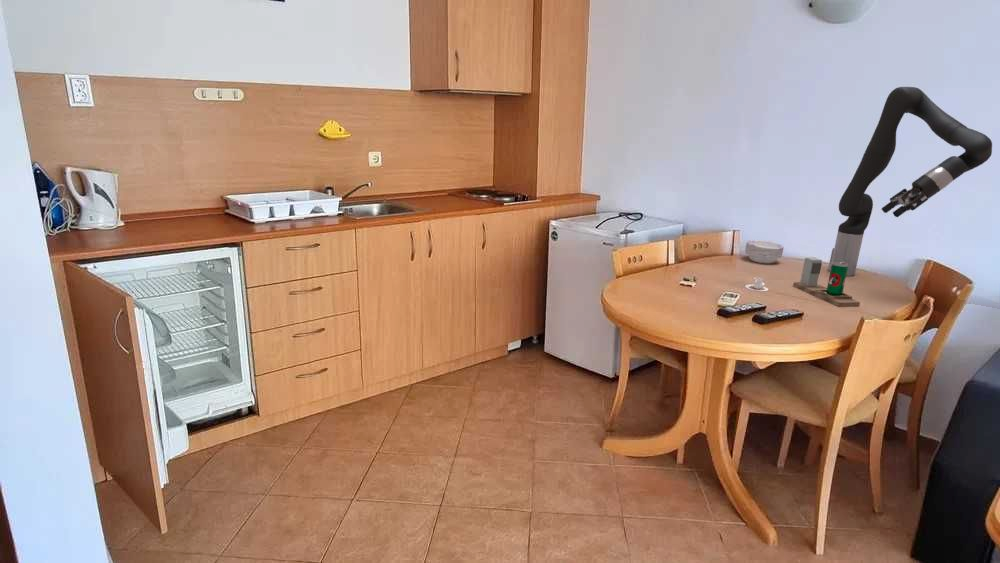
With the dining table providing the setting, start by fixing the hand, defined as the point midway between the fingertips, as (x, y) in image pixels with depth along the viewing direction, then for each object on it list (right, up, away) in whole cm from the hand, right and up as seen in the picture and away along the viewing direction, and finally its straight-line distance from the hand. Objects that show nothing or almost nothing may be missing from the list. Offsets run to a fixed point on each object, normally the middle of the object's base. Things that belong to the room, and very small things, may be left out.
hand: (888, 213), depth 210 cm
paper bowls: (-21, -15, +54) cm, 60 cm away
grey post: (-21, -25, +14) cm, 36 cm away
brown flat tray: (-19, -29, +7) cm, 35 cm away
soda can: (-18, -29, +3) cm, 34 cm away
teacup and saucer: (-38, -27, +12) cm, 48 cm away
